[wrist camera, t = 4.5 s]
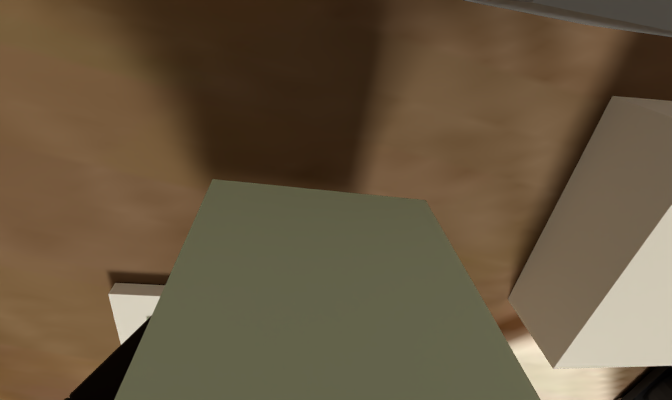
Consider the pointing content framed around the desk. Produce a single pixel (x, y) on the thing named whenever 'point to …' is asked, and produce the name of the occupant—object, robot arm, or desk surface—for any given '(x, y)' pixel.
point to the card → (133, 306)
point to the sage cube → (320, 306)
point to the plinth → (608, 249)
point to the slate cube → (600, 12)
